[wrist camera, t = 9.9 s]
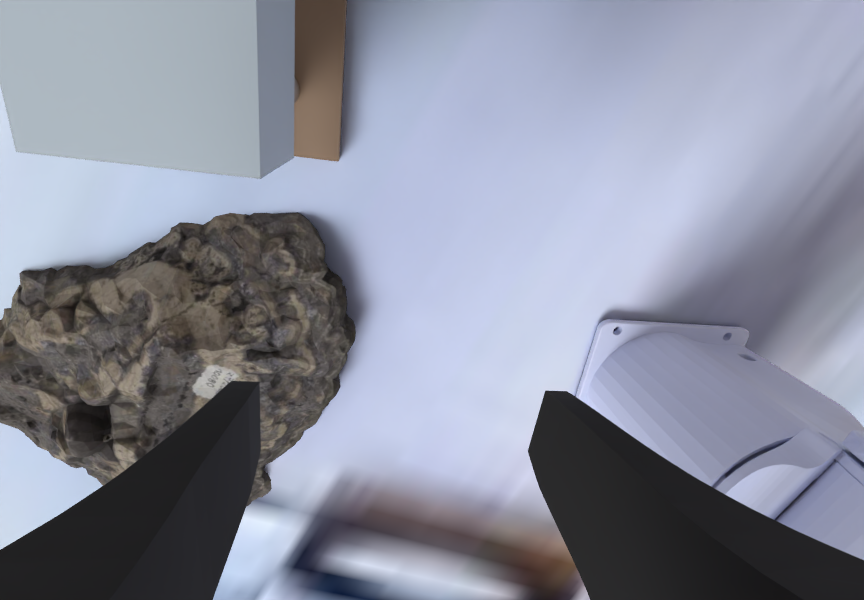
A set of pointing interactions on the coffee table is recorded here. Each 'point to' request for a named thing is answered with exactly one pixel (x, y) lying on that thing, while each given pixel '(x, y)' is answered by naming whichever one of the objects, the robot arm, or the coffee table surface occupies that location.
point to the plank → (152, 82)
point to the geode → (176, 341)
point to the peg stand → (319, 77)
